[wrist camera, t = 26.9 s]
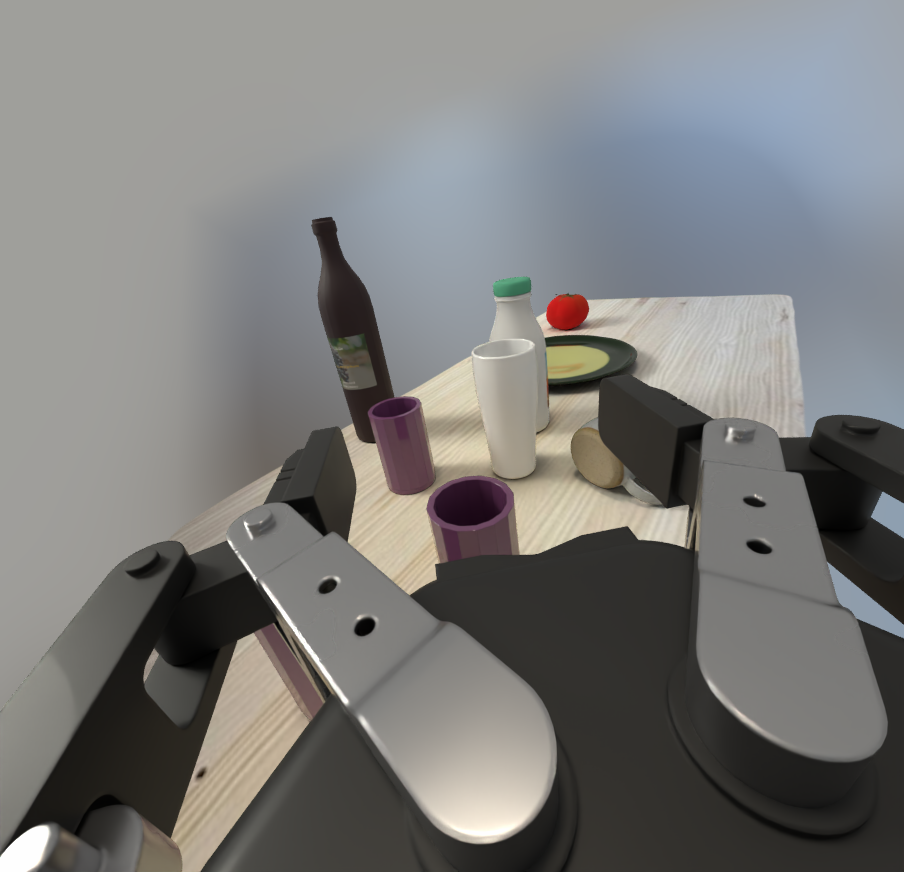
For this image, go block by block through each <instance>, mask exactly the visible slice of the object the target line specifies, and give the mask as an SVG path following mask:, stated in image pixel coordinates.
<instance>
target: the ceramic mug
mask: <svg viewBox="0 0 904 872" xmlns="http://www.w3.org/2000/svg"><path fill="white" fill-rule="evenodd" d="M571 454H572V458H573V460H574V463H575V465H576V466H577V468H578V470H579V471H580V473H581V474H582V475H583V476H584V477H585V478H586V479H587V480H588V481H590V482H591V483H593V484H594V485H596V486H599V487H602V488H614V487H617V486H621V485H623V486H624V487H625V488H626V490H627V491H628V492H629V493H630V494H631V495H633V496H635V497H636V498H638V499H640V500H641V501H643V502H645V503H649V504H654V505H662V503H661V502H660V501H659V500H658V499H657V498H656V497H655V496H654V495H653V494H652V493H650V492H648V491H646V490H644V489H643V488H641V487H640V486H639V485H637V484H636V483H635V482H634V481H633V480H634V479H635V478H636V477H635V476H634V474H633V473H632V472H631V471H630V470H629V469H628V468H627V467H626V466H625V465H624V464H623V463H622V462H621V461H620V460H619V459H618V458H617V457H616V456H615V455H614V454H613V453H612V452H611V451H610V450H609V449H608V448H607V447H606V446H605V445H604V444H603V442H602V440H601V438H600V435H599V430H598V417H597V418H595V419H593V420H591V421H590V422H588V423H586V424H585V425H583V426H582V427H581V428H580V429H579V430H578V431H577V432H576V433H575V434H574V435H573V438H572V441H571Z"/></svg>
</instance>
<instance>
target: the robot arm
mask: <svg viewBox="0 0 904 872" xmlns="http://www.w3.org/2000/svg"><path fill="white" fill-rule="evenodd" d="M598 430H599V435H600V438H601V440H602V442H603V444H604V445H605V446H606V447H607V448H608V449H609V450H610V451H611V452H612V453H613V454H614V455H615V456H616V457H617V458H618V459H619V460H620V461H621V462H622V463H623V464H624V465H625V466H626V467H627V468H628V469H629V470H630V471H631V472H632V473H633V474H634V476H635V477H636V478H637V479H638V480H639V481H640V482H641V483H642V484H643V485H644V486H645V487H646V488H647V489H648V490H649V491H650V492H651V493H652V494H653V495H654V496H655V497H656V498H657V499H658V500H659V501H660V502H661V503H662V504H663V505H664V506H665V507H666V508H671V507H676V506H681V505H686V504H688V505H689V511H688V517H687V526H686V536H685V546H684V547H681V546H677V545H673V544H669V543H664V542H658V541H647V540H638V539H637V538H636V536H635V535H634V534H633V533H632V531H631V530H630V529H629V527H628V526H626V527H621V528H616V529H611V530H606V531H601V532H596V533H591V534H586V535H581V536H579V537H576V538H574V539H572V540H569V541H567V542H565V543H563V544H560V545H558V546H556V547H553V548H551V549H549V550H546V551H544V552H542V553H539V554H535V555H480V556H475V557H470V558H465V559H460V560H455V561H450V562H444V563H439V564H435V567H436V576H437V580H435V581H433V582H431V583H429V584H427V585H425V586H423V587H421V588H420V589H418V590H417V591H415V592H414V593H412V594H411V595H410V596H409V595H408V594H407V593H406V592H404V591H403V590H402V589H401V588H400V587H399V586H397V585H396V584H395V583H394V582H393V581H392V580H391V579H389V578H388V577H387V576H386V575H385V574H384V573H382V572H381V571H380V570H379V569H378V568H377V567H375V566H374V565H373V564H372V563H371V562H370V561H369V560H367V559H366V558H365V557H364V556H363V555H362V554H360V553H359V552H358V551H357V550H356V549H355V548H353V547H352V546H351V545H350V544H349V543H348V536H349V530H350V525H351V519H352V513H353V507H354V501H355V495H356V478H355V473H354V469H353V466H352V463H351V460H350V456H349V453H348V450H347V447H346V444H345V441H344V437H343V434H342V432H341V430H340V428H339V427H332V428H326V429H321V430H315V431H312V433H311V435H310V437H309V439H308V442H307V444H306V446H305V448H304V449H301V450H297V451H296V452H295V453H294V454H293V455H291V456H290V457H289V458H288V459H287V460H286V461H285V463H284V465H283V467H282V469H281V473H279V475H278V477H277V479H276V482H275V483H274V485H273V487H272V489H271V491H270V493H269V495H268V496H267V498H266V500H265V502H264V504H263V505H262V506H259V507H256V508H254V509H252V510H250V511H248V512H246V513H244V514H243V515H242V516H240V517H239V518H238V519H236V520H235V521H234V522H233V523H232V524H231V526H230V527H229V529H228V530H227V533H226V539H227V541H225V542H222V543H220V544H217V545H215V546H212V547H210V548H207V549H205V550H202V551H199V552H197V553H194V554H192V555H189V554H188V552H187V551H186V549H185V548H184V546H183V545H182V544H181V543H180V542H177V541H166V542H160V543H157V544H153V545H151V546H148V547H146V548H144V549H142V550H140V551H138V552H136V553H134V554H132V555H131V556H129V557H128V558H126V559H125V560H123V561H122V562H121V563H119V564H118V565H117V566H116V567H115V568H114V569H113V570H112V571H111V572H110V573H109V574H108V575H107V577H106V578H105V579H104V581H103V582H102V583H101V584H100V585H99V587H98V588H97V589H96V591H95V592H94V593H93V594H92V596H91V597H90V598H89V599H88V601H87V602H86V603H85V605H84V606H83V607H82V609H81V610H80V611H79V612H78V613H77V615H76V616H75V617H74V618H73V620H72V621H71V622H70V623H69V625H68V626H67V627H66V628H65V630H64V631H63V632H62V634H61V635H60V636H59V637H58V639H57V640H56V641H55V642H54V644H53V645H52V646H51V647H50V649H49V650H48V651H47V652H46V654H45V655H44V656H43V658H42V659H41V660H40V661H39V663H38V664H37V665H36V666H35V668H34V669H33V670H32V672H31V673H30V674H29V675H28V676H27V678H26V679H25V680H24V681H23V683H22V684H21V685H20V687H19V688H18V689H17V690H16V692H15V693H14V694H13V695H12V697H11V698H10V699H9V700H8V702H7V703H6V704H5V706H4V707H3V708H2V709H1V711H0V872H182V856H181V853H180V850H179V848H178V846H177V844H176V843H175V842H174V841H173V840H171V836H172V833H173V830H174V827H175V824H176V821H177V818H178V815H179V812H180V809H181V806H182V803H183V800H184V797H185V794H186V791H187V788H188V785H189V783H190V780H191V777H192V774H193V771H194V768H195V765H196V762H197V759H198V756H199V753H200V750H201V747H202V744H203V741H204V738H205V735H206V732H207V729H208V726H209V723H210V720H211V717H212V715H213V712H214V709H215V706H216V703H217V700H218V697H219V694H220V691H221V688H222V685H223V682H224V679H225V676H226V673H227V670H228V667H229V664H230V661H231V658H232V655H233V652H234V650H235V647H236V644H237V640H239V639H241V638H243V637H245V636H247V635H250V634H252V633H254V632H256V631H258V630H260V629H262V628H264V627H267V626H269V625H271V624H274V626H275V628H276V629H277V631H278V632H279V634H280V635H281V637H282V639H283V640H284V642H285V643H286V645H287V646H288V648H289V649H290V651H291V652H292V654H293V655H294V657H295V659H296V660H297V662H298V663H299V665H300V666H301V668H302V669H303V671H304V672H305V674H306V675H307V677H308V679H309V680H310V682H311V683H312V685H313V687H314V688H315V690H316V692H317V694H318V695H319V697H320V699H321V700H322V702H323V705H322V707H321V708H320V709H319V711H318V712H317V713H316V715H315V716H314V717H313V719H312V720H311V722H310V723H309V724H308V726H307V727H306V728H305V730H304V731H303V732H302V734H301V735H300V736H299V738H298V739H297V741H296V742H295V743H294V745H293V746H292V747H291V749H290V750H289V751H288V753H287V754H286V755H285V757H284V758H283V760H282V761H281V762H280V764H279V765H278V766H277V768H276V769H275V770H274V772H273V773H272V774H271V776H270V777H269V779H268V780H267V781H266V783H265V784H264V785H263V787H262V788H261V789H260V791H259V792H258V793H257V795H256V796H255V798H254V799H253V800H252V802H251V803H250V804H249V806H248V807H247V808H246V810H245V811H244V812H243V814H242V815H241V817H240V818H239V819H238V821H237V822H236V823H235V825H234V826H233V827H232V829H231V830H230V832H229V833H228V834H227V836H226V837H225V838H224V840H223V841H222V842H221V844H220V845H219V846H218V848H217V849H216V851H215V852H214V853H213V855H212V856H211V857H210V859H209V860H208V861H207V863H206V864H205V866H204V867H203V869H202V870H201V872H904V638H901V637H899V636H897V635H894V634H892V633H889V632H887V631H885V630H882V629H880V628H878V627H875V626H873V625H870V624H868V623H866V622H863V621H861V620H859V619H856V618H855V616H854V614H853V613H852V612H851V611H850V610H849V609H848V608H845V607H843V606H842V605H841V604H840V603H839V601H838V599H837V596H836V593H835V589H834V586H833V582H832V578H831V575H830V571H829V568H828V564H827V562H828V563H830V564H831V565H832V566H833V567H835V568H836V569H837V570H838V571H839V572H840V573H842V574H843V575H844V576H845V577H847V578H848V579H849V580H850V581H851V582H853V583H854V584H855V585H856V586H857V587H859V588H860V589H861V590H862V591H864V592H865V593H866V594H867V595H868V596H870V597H871V598H872V599H873V600H874V601H876V602H877V603H878V604H879V605H881V606H882V607H883V608H884V609H885V610H887V611H888V612H889V613H890V614H892V615H893V616H894V617H895V618H896V619H898V620H899V621H900V622H901V623H902V624H904V538H902V537H901V536H899V535H897V534H896V533H894V532H893V531H891V530H890V529H888V528H887V527H885V526H883V525H882V524H880V523H879V522H877V521H876V520H874V519H873V518H871V515H872V513H873V511H874V509H875V506H876V504H877V502H878V500H879V498H880V496H881V494H882V491H883V492H885V493H886V494H888V495H890V496H892V497H894V498H895V499H897V500H899V501H901V502H902V503H904V429H901V428H899V427H897V426H894V425H892V424H889V423H886V422H883V421H880V420H876V419H872V418H867V417H861V416H852V415H832V416H827V417H823V418H820V419H818V420H817V422H816V424H815V427H814V430H813V433H812V436H811V437H796V438H779V437H778V434H777V432H776V431H775V430H774V429H772V428H771V427H769V426H767V425H765V424H763V423H760V422H757V421H753V420H748V419H742V418H720V419H715V420H714V419H713V418H711V417H709V416H708V415H706V414H704V413H702V412H701V411H699V410H697V409H696V408H694V407H692V406H690V405H687V403H685V402H684V401H682V400H680V399H677V397H675V396H673V395H672V394H670V393H668V392H666V391H664V390H661V389H657V388H654V387H650V386H648V385H647V384H645V383H643V382H642V381H640V380H638V379H637V378H635V377H633V376H632V375H630V374H625V375H619V376H614V377H608V378H604V379H602V381H601V383H600V388H599V414H598ZM154 648H155V650H156V651H157V652H158V653H159V656H158V658H157V660H156V662H155V664H154V666H153V668H152V669H151V671H150V673H149V675H148V677H147V679H146V681H145V683H144V681H143V675H144V669H145V665H146V663H147V660H148V658H149V656H150V655H151V653H152V651H153V649H154Z"/></svg>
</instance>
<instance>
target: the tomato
mask: <svg viewBox="0 0 904 872" xmlns="http://www.w3.org/2000/svg"><path fill="white" fill-rule="evenodd" d="M588 312H589V306H588V302H587V301H586V299H585V298H584V297H583V296H581V295H577V294H575V295H569V294H563V295H559V296H557V297H556V298H554V299H553V300H552V301H551V302H550V304H549V305H548V307H547V313H546V316H547V321H548V322H549V323H550V325H551V326H553V327H554V328H557V329H564V330H567V329H571V328H574V327H577V326H579V325H580V324H581V323H582V322H583V321H584V320H585V319H586V317H587V315H588Z"/></svg>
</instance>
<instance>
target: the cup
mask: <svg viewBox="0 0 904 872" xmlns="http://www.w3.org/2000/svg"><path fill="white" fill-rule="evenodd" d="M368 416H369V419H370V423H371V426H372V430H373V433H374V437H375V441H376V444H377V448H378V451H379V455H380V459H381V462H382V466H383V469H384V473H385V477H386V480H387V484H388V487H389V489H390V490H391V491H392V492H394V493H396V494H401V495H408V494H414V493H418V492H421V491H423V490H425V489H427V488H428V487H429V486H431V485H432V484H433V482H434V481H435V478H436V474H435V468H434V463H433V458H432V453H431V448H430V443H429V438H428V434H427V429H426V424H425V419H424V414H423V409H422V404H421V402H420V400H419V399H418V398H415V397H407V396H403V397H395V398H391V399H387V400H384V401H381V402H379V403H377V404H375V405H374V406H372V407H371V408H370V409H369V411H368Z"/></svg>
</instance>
